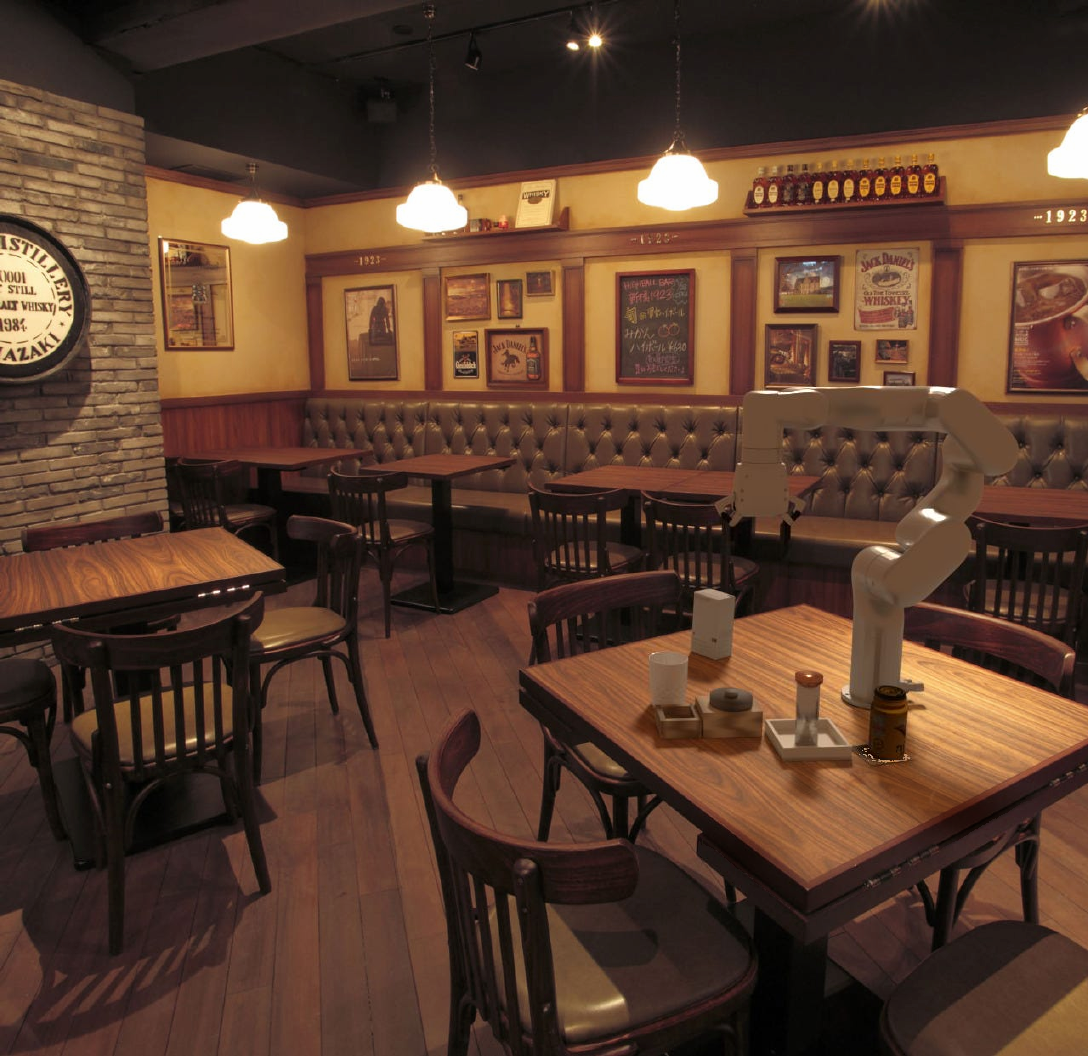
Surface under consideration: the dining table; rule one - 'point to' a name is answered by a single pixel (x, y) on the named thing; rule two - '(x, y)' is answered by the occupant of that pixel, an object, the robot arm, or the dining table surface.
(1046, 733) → the dining table surface
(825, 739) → the tray
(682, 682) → the white cup
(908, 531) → the robot arm
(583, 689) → the dining table surface
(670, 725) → the wooden condiment holder
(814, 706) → the glass shaker
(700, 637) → the skincare box
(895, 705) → the condiment
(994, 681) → the dining table surface
